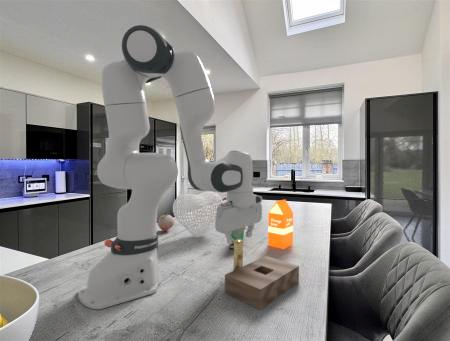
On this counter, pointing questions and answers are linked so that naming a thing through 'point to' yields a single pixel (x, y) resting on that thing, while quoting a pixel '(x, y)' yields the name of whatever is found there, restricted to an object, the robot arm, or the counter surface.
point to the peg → (238, 254)
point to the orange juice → (280, 225)
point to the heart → (196, 197)
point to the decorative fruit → (165, 222)
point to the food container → (237, 235)
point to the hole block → (261, 281)
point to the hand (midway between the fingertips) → (240, 239)
